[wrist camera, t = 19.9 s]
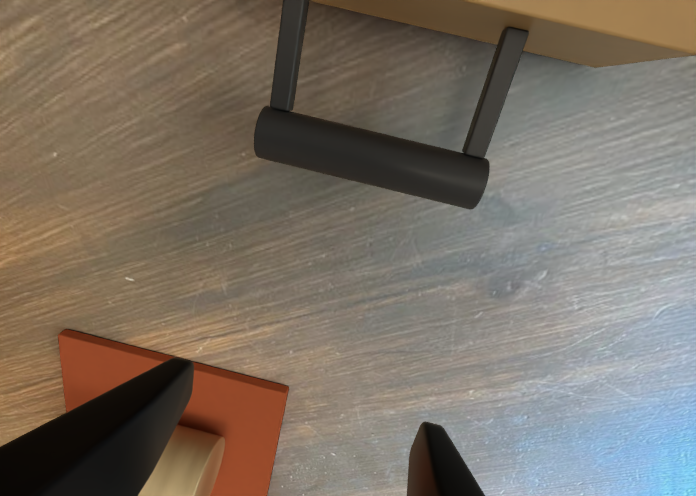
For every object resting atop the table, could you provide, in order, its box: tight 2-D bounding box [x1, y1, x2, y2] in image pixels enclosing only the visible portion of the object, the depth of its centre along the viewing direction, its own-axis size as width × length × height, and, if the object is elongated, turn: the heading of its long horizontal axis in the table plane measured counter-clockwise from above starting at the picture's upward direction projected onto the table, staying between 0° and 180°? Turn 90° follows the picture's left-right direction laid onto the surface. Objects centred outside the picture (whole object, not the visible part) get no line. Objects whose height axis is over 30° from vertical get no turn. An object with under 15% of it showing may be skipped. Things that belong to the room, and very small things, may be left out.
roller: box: [138, 425, 225, 496], centre depth 21 cm, size 7×4×4 cm, turn 77°
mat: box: [58, 329, 289, 496], centre depth 23 cm, size 13×11×1 cm
